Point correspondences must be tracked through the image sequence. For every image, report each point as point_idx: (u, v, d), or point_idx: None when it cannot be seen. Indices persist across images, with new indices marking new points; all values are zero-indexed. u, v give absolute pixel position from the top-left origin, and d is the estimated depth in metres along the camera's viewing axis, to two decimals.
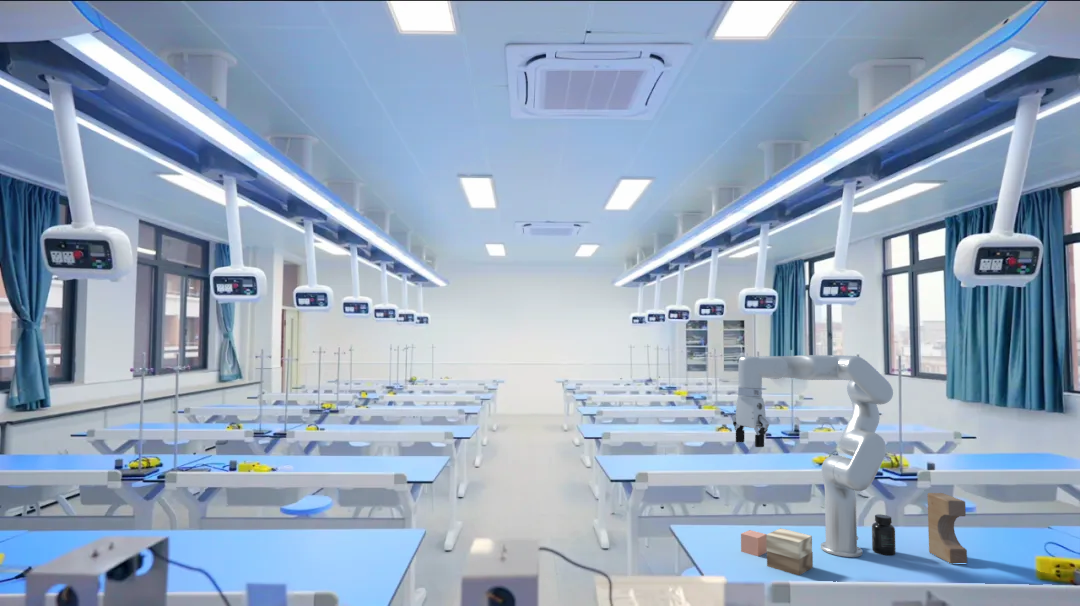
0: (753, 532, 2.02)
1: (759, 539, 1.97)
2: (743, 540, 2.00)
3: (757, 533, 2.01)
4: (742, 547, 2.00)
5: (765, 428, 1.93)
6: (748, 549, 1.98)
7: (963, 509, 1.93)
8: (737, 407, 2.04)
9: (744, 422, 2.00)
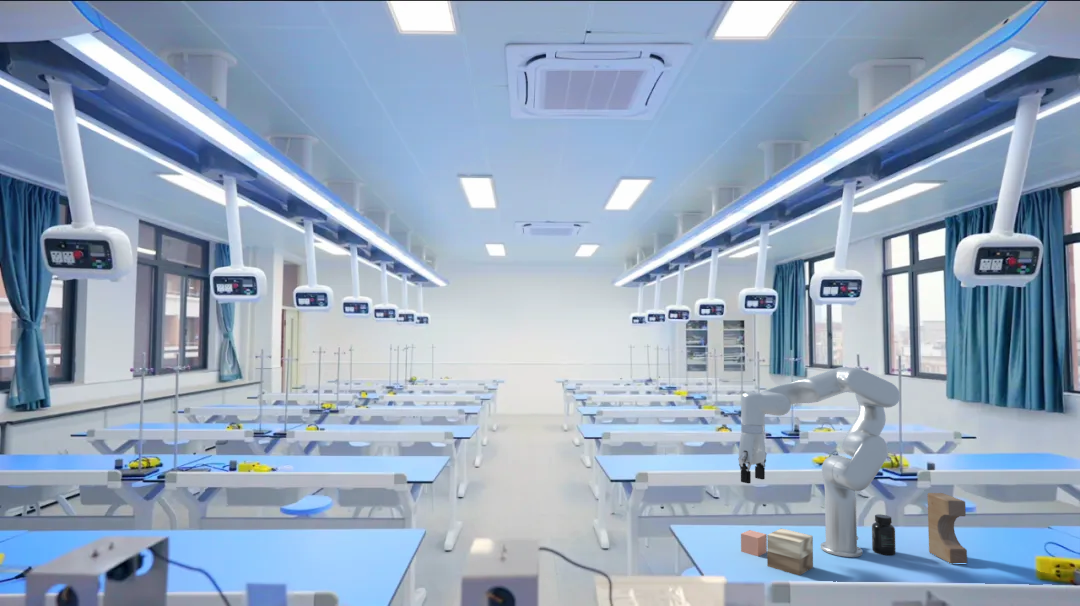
0: (753, 532, 2.02)
1: (759, 539, 1.97)
2: (743, 540, 2.00)
3: (757, 533, 2.01)
4: (742, 547, 2.00)
5: None
6: (748, 549, 1.98)
7: (963, 509, 1.93)
8: (753, 446, 1.98)
9: (759, 459, 2.00)
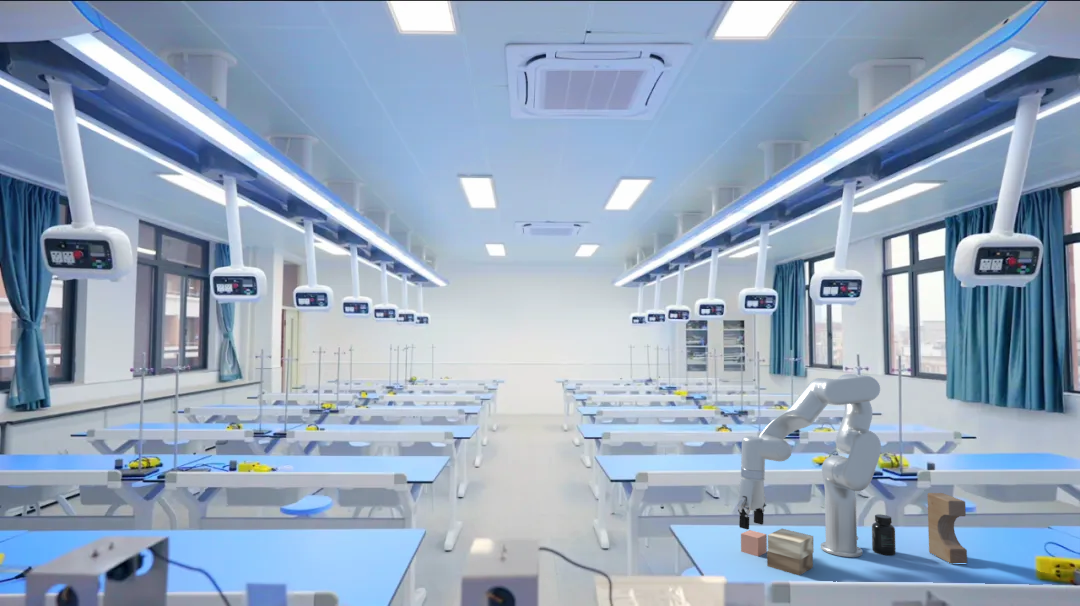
0: (753, 532, 2.02)
1: (759, 539, 1.97)
2: (743, 540, 2.00)
3: (757, 533, 2.01)
4: (742, 547, 2.00)
5: None
6: (748, 549, 1.98)
7: (963, 509, 1.93)
8: (753, 492, 1.97)
9: (758, 505, 1.99)
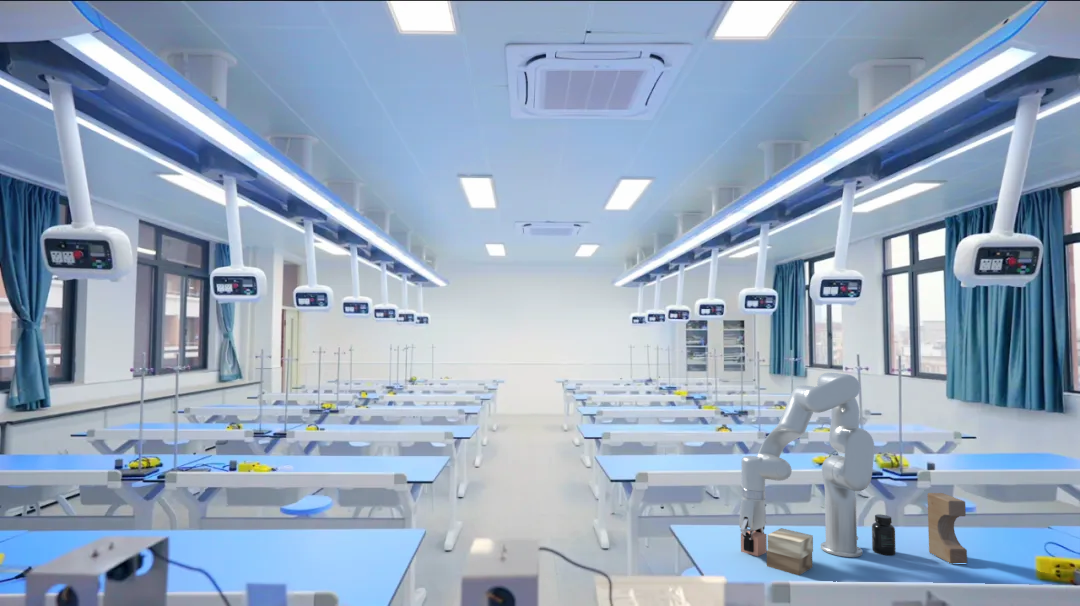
0: (753, 532, 2.02)
1: (759, 539, 1.97)
2: (742, 540, 2.00)
3: (757, 533, 2.01)
4: (742, 547, 2.00)
5: None
6: None
7: (963, 509, 1.93)
8: (754, 513, 1.97)
9: (759, 525, 1.99)
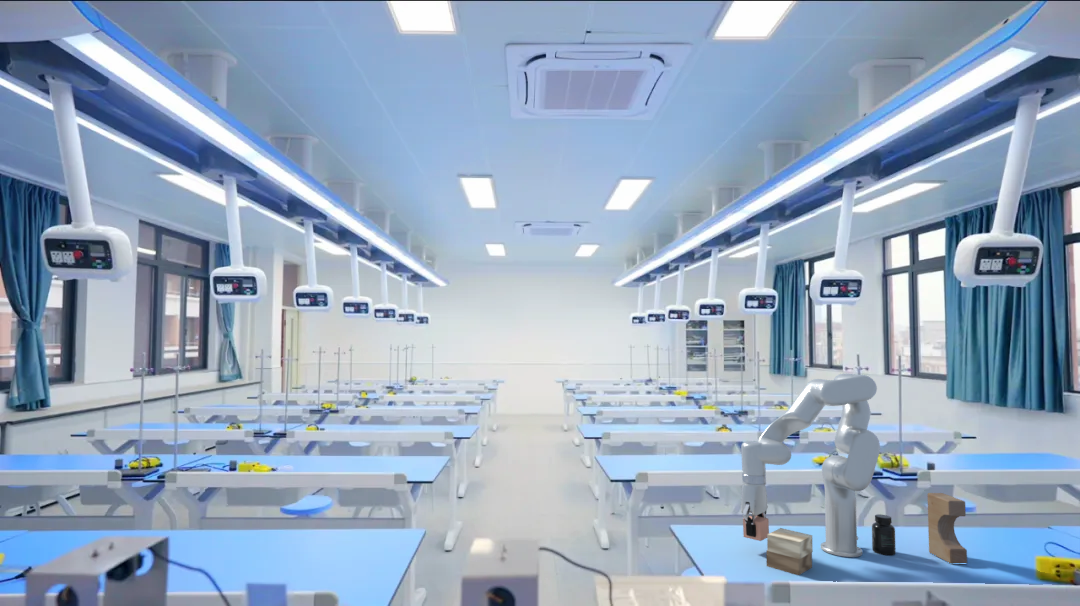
0: (755, 517, 2.02)
1: (761, 523, 1.97)
2: (745, 525, 2.00)
3: (759, 518, 2.01)
4: (744, 532, 2.00)
5: None
6: None
7: (963, 509, 1.93)
8: (755, 497, 1.97)
9: (761, 509, 1.99)
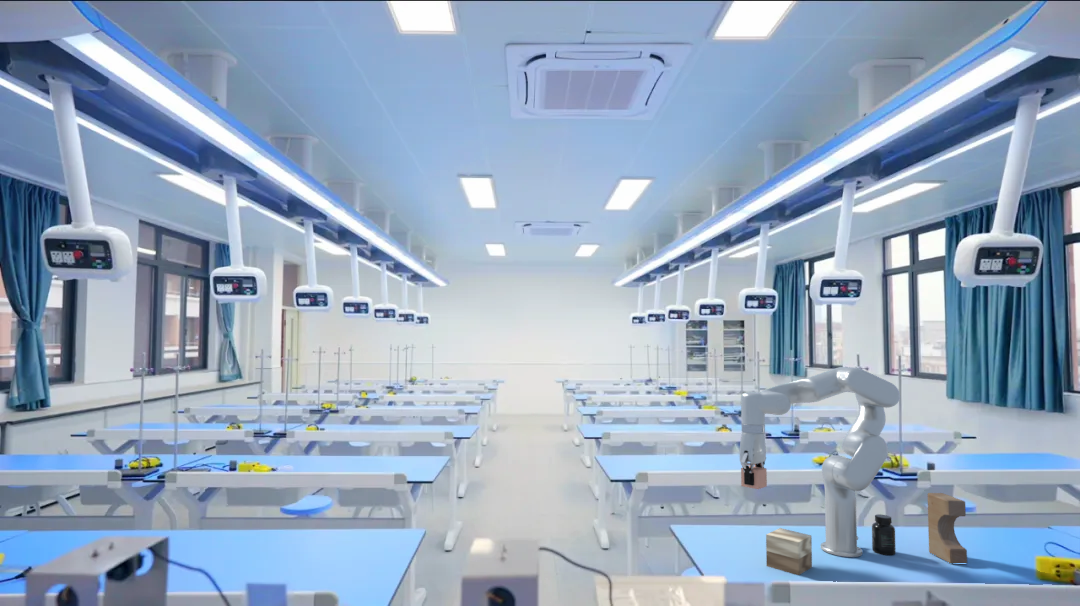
0: (753, 467, 2.04)
1: (759, 472, 1.98)
2: (743, 474, 2.01)
3: (757, 467, 2.02)
4: (742, 481, 2.01)
5: None
6: None
7: (963, 509, 1.93)
8: (754, 446, 1.98)
9: (759, 459, 2.00)
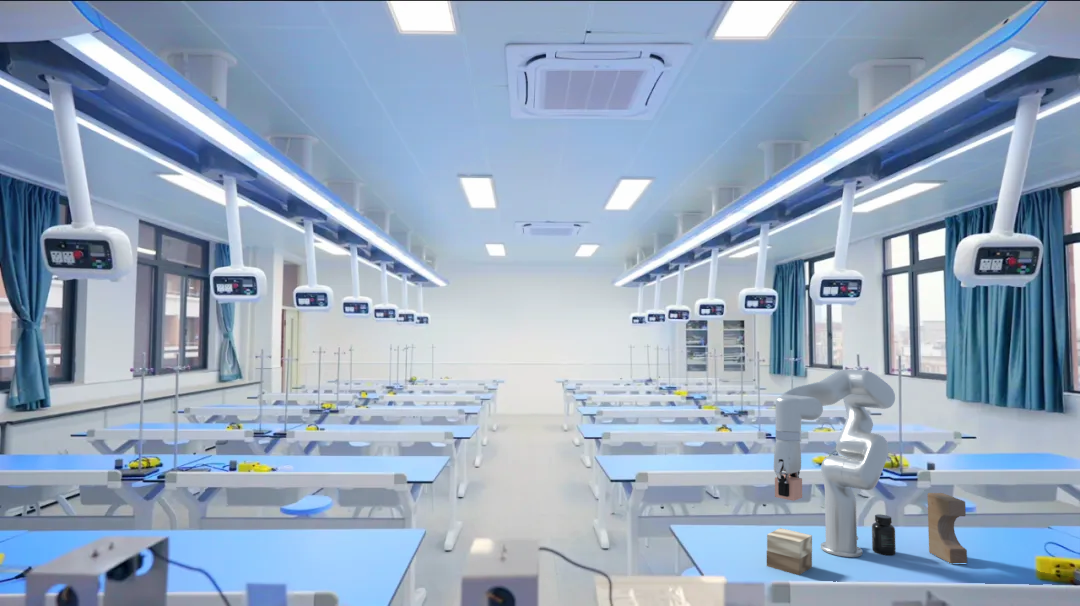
0: None
1: (795, 482, 1.85)
2: (777, 484, 1.88)
3: (792, 477, 1.89)
4: (776, 492, 1.88)
5: None
6: None
7: (963, 509, 1.93)
8: (790, 455, 1.85)
9: (795, 468, 1.87)
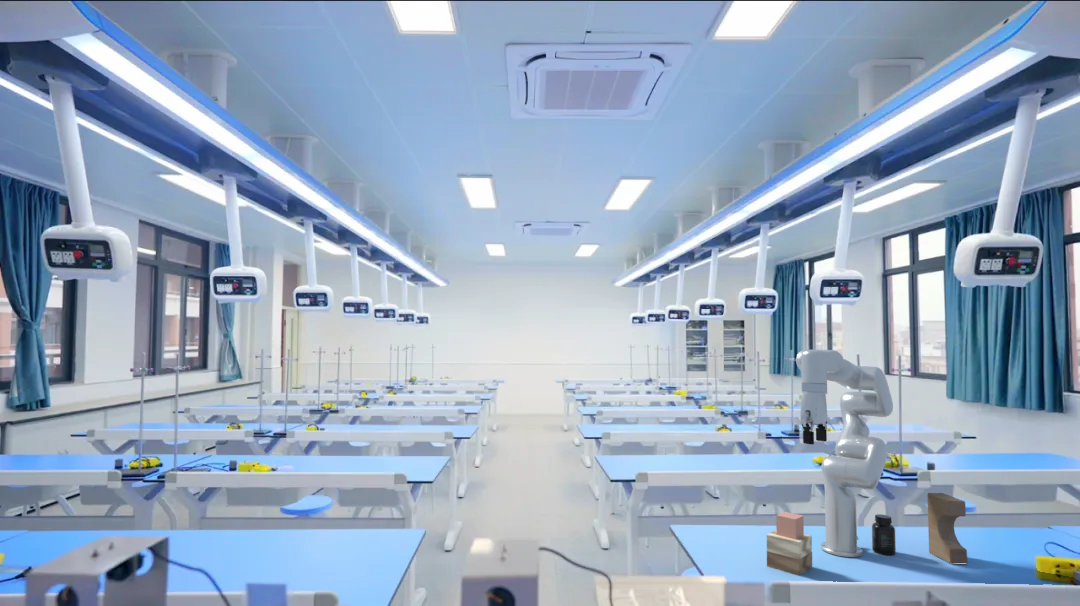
0: (788, 514, 1.90)
1: (796, 521, 1.85)
2: (778, 522, 1.88)
3: (793, 515, 1.89)
4: (778, 529, 1.88)
5: None
6: (785, 532, 1.86)
7: (963, 509, 1.93)
8: (816, 406, 1.88)
9: (821, 420, 1.90)
